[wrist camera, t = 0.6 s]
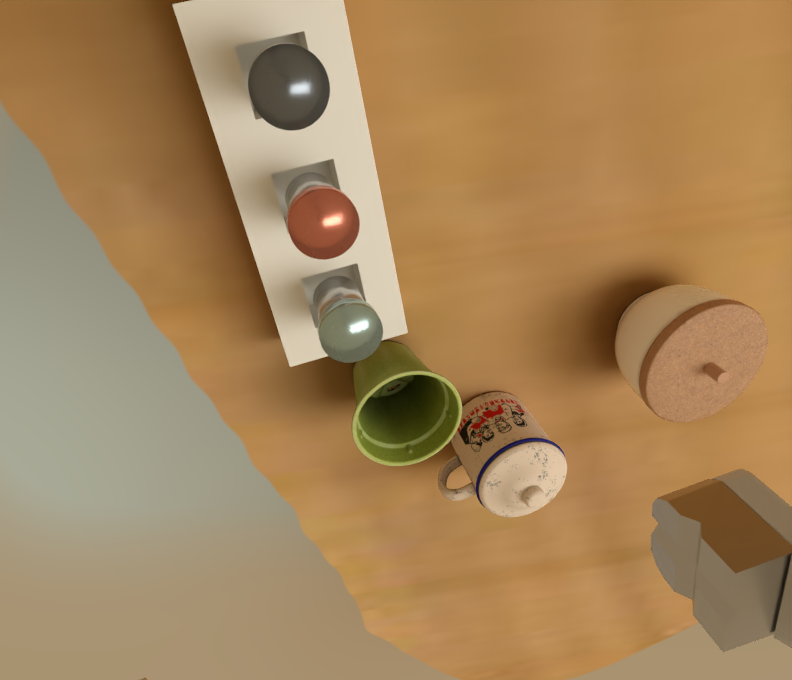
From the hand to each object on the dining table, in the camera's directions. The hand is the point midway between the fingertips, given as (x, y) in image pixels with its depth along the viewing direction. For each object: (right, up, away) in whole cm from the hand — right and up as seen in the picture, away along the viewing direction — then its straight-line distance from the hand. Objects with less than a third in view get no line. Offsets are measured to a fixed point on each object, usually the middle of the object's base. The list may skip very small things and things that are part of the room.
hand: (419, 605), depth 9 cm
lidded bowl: (+26, +6, +54) cm, 60 cm away
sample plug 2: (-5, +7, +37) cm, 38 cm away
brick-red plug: (-6, +14, +33) cm, 36 cm away
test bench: (-8, +17, +38) cm, 42 cm away
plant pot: (-2, +2, +48) cm, 48 cm away
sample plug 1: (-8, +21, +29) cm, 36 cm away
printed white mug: (+8, -5, +55) cm, 56 cm away
